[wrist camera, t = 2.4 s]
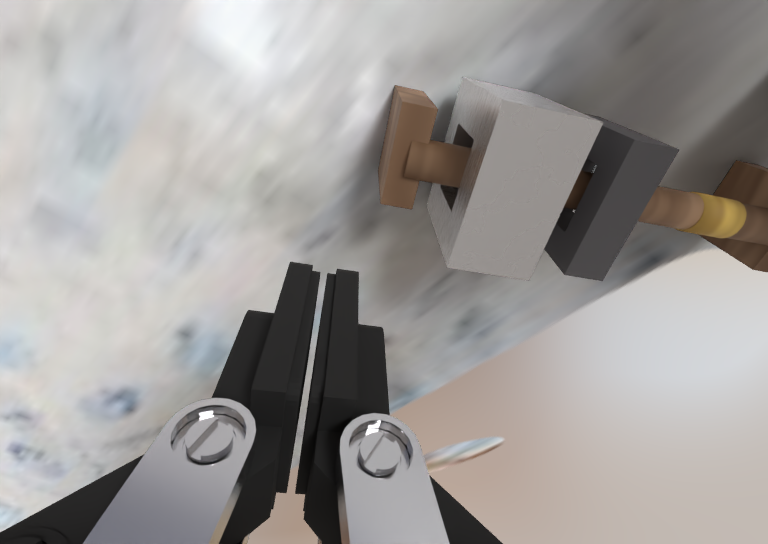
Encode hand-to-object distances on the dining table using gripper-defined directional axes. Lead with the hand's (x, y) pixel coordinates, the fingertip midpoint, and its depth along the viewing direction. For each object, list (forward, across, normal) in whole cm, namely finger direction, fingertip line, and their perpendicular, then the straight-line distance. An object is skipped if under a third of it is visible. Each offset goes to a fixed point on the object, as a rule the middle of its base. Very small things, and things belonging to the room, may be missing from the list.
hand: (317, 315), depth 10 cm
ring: (+20, -15, 0) cm, 25 cm away
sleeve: (+20, -9, 0) cm, 22 cm away
